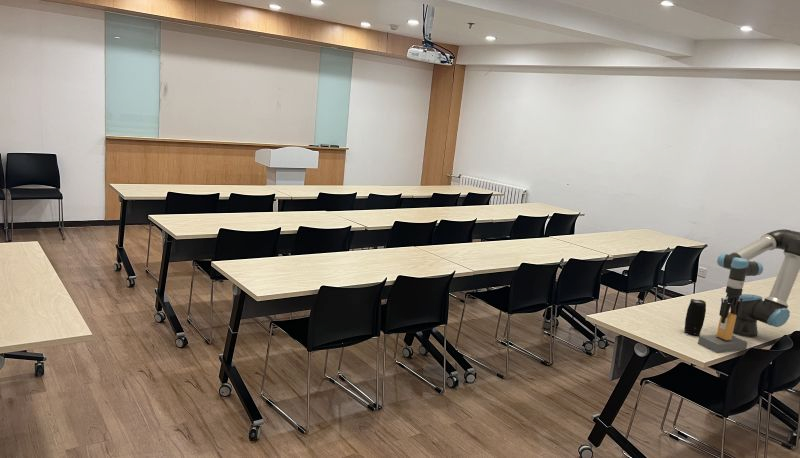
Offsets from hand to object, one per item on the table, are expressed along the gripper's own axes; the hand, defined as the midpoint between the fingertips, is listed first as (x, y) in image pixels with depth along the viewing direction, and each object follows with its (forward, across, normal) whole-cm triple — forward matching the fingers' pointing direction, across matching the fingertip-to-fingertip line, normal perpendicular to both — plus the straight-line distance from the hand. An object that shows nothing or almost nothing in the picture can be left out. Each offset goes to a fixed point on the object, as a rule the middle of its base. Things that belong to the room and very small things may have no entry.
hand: (725, 328), depth 318 cm
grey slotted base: (+11, 0, 0) cm, 11 cm away
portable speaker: (+11, -1, +19) cm, 22 cm away
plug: (+6, 0, 0) cm, 6 cm away
